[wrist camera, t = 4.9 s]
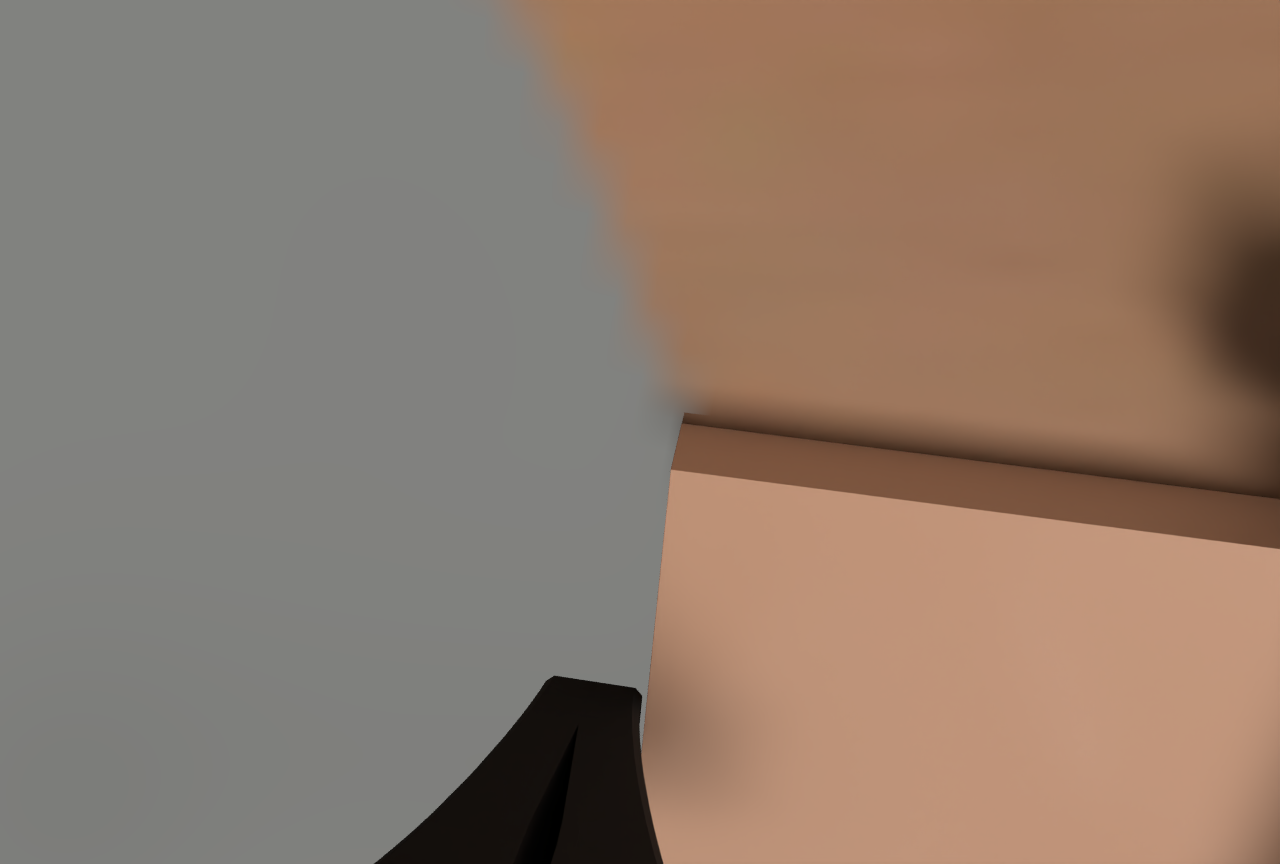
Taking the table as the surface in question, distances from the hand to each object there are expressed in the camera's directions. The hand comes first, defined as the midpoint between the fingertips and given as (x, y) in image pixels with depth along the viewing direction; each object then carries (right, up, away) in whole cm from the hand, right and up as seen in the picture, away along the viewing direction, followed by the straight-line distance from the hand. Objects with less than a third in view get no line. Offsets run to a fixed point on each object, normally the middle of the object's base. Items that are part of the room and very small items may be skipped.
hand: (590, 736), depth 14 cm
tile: (+7, 0, +1) cm, 7 cm away
